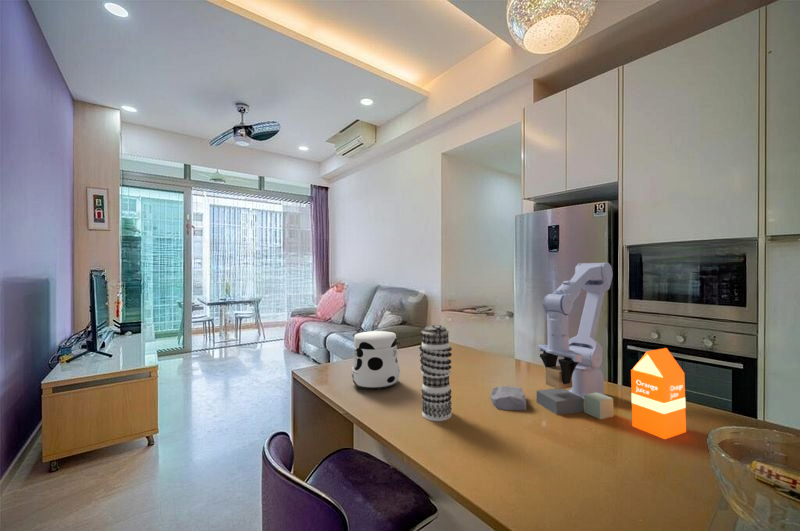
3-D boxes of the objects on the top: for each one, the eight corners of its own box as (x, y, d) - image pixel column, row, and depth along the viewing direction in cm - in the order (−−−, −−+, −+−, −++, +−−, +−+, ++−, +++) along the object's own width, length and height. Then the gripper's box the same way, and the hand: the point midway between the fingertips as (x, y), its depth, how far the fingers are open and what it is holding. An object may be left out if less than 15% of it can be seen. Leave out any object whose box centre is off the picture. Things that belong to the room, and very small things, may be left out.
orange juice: (631, 426, 87) (629, 348, 87) (652, 419, 90) (650, 344, 91) (665, 439, 80) (663, 355, 80) (687, 432, 83) (684, 351, 83)
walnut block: (558, 382, 103) (558, 365, 103) (572, 387, 98) (571, 370, 98) (546, 384, 101) (545, 367, 101) (559, 389, 96) (558, 372, 96)
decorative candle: (440, 425, 89) (438, 330, 89) (413, 415, 95) (412, 326, 96) (459, 413, 96) (457, 325, 96) (433, 405, 102) (431, 322, 102)
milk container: (408, 381, 124) (407, 332, 124) (381, 397, 110) (380, 341, 110) (371, 374, 133) (370, 329, 134) (341, 387, 119) (340, 336, 119)
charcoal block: (562, 400, 105) (561, 387, 105) (584, 412, 96) (583, 398, 96) (536, 403, 103) (536, 390, 103) (556, 415, 94) (556, 401, 94)
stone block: (495, 416, 98) (530, 411, 97) (491, 399, 99) (526, 394, 97) (491, 401, 110) (523, 397, 108) (488, 387, 110) (519, 382, 109)
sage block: (597, 409, 97) (596, 392, 97) (613, 416, 93) (613, 398, 93) (584, 412, 96) (584, 394, 96) (600, 419, 91) (599, 401, 91)
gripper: (529, 331, 105) (530, 374, 105) (567, 340, 92) (568, 390, 91) (547, 329, 108) (548, 372, 108) (586, 338, 94) (587, 386, 94)
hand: (559, 380), depth 100 cm, fingers closed on walnut block, 5 cm apart
